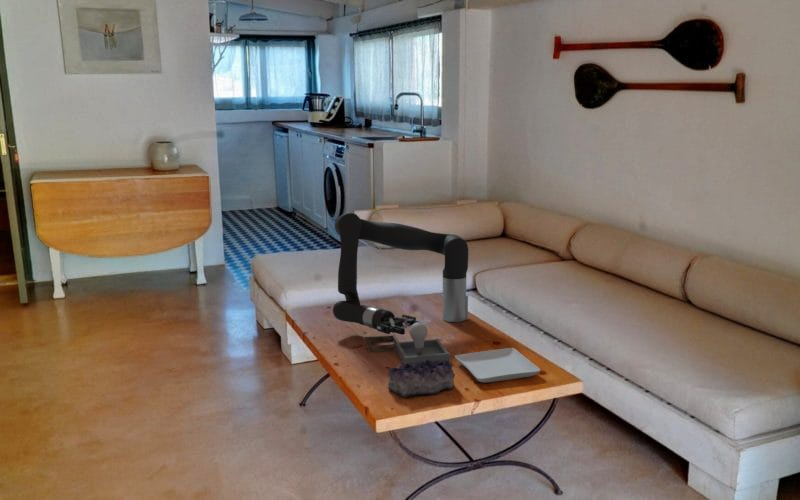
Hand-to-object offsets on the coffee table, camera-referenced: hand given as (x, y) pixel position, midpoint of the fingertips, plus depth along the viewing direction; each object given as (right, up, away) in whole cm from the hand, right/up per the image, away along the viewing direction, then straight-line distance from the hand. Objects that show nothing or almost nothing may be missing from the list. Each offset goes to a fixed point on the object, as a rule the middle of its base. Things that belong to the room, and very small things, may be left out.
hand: (412, 328), depth 238 cm
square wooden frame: (-10, -7, +10) cm, 16 cm away
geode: (+2, -15, -28) cm, 32 cm away
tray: (+3, -9, -1) cm, 10 cm away
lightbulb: (+2, -9, -2) cm, 9 cm away
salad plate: (+27, -12, -14) cm, 32 cm away
